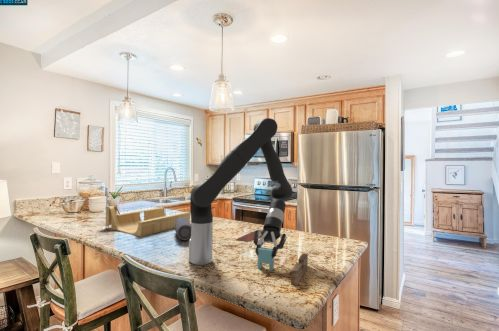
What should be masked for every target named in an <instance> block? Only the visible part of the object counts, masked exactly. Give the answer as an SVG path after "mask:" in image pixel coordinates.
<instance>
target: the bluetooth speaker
mask: <svg viewBox="0 0 499 331" xmlns="http://www.w3.org/2000/svg"><path fill="white" fill-rule="evenodd" d="M174 231H175V233H176V236H177V237H178V238H179V239H180V240H181V241H187V240H188V241H189V240H190V239H191V221H190V222H189V221H188V219H186V218H184V217H180V218H178V219H177V220H176V221H175V228H174Z"/></svg>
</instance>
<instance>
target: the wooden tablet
mask: <svg viewBox="0 0 499 331" xmlns="http://www.w3.org/2000/svg"><path fill="white" fill-rule="evenodd" d="M262 230H263V229H257V231H258V232H261V231H262ZM255 231H256V230H253V231H251V232H249V233H246V234H244V235H242V236H240V237H238V238H236V239H235V241H238V242H244V243H248V242H249V243H250V242H253V241H254V234H255ZM261 237H262V234H261V235H260V237H258V239H260V238H261Z"/></svg>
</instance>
